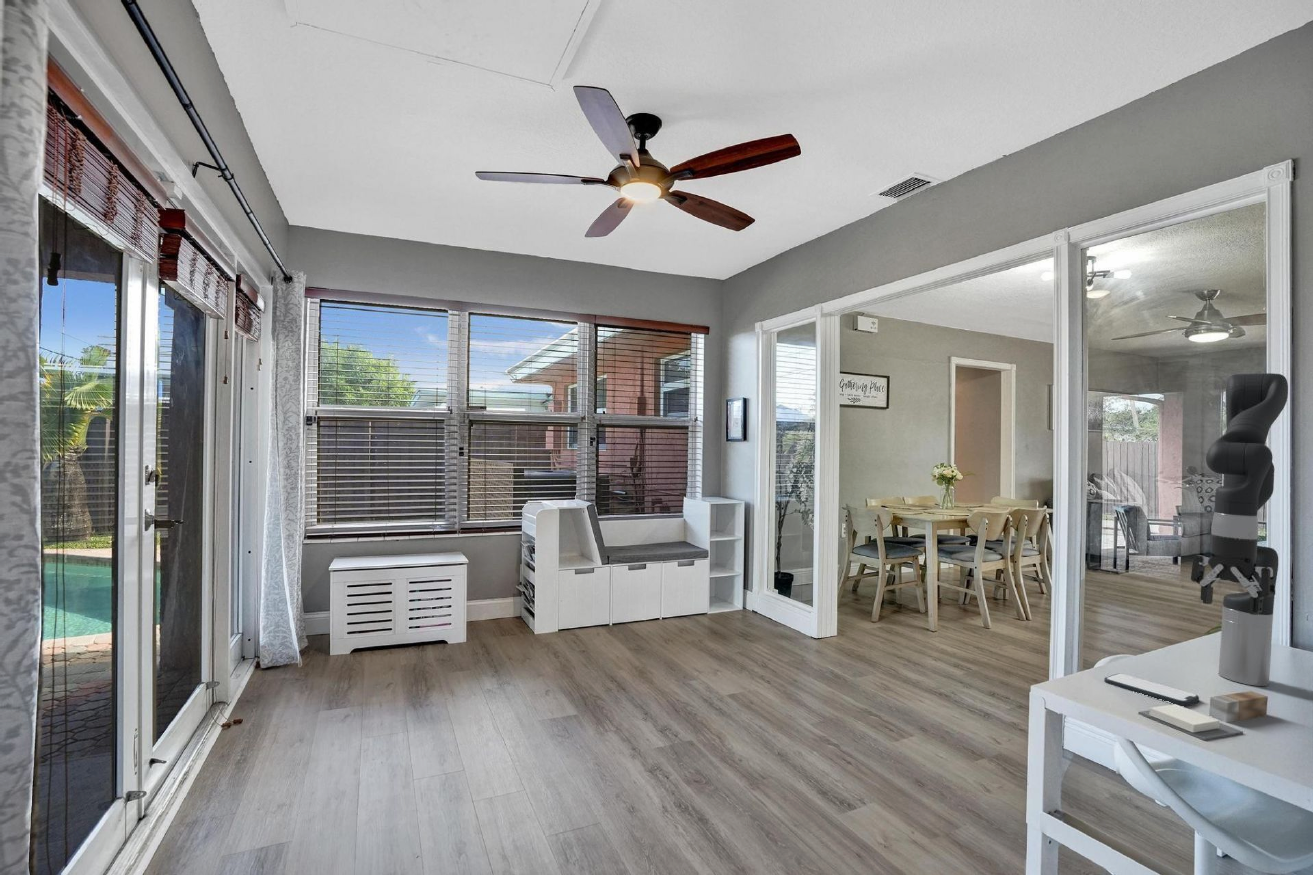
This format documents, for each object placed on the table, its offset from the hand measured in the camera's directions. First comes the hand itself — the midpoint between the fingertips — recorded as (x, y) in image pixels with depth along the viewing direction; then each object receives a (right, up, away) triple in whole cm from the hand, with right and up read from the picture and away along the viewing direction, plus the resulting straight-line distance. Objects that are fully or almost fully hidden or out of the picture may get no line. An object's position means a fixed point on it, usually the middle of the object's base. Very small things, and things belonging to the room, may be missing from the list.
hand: (1229, 608), depth 142 cm
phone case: (-12, -21, +7) cm, 26 cm away
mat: (-17, -21, -10) cm, 28 cm away
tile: (-15, -19, -9) cm, 26 cm away
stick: (-2, -21, -4) cm, 22 cm away
